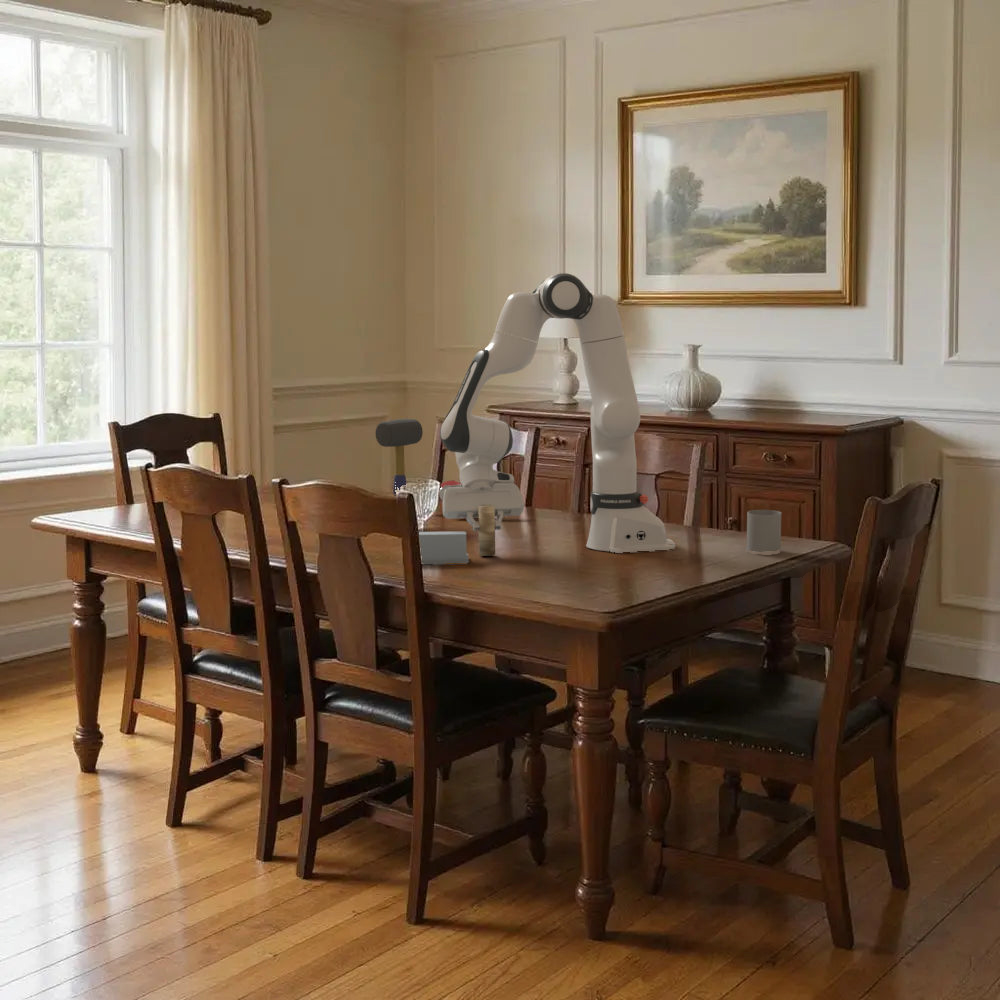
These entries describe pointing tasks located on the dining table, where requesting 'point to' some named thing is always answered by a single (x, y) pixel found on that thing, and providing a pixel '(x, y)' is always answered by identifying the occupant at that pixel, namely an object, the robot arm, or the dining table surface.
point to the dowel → (486, 530)
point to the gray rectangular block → (443, 547)
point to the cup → (763, 530)
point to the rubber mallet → (399, 442)
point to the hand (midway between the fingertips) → (487, 528)
